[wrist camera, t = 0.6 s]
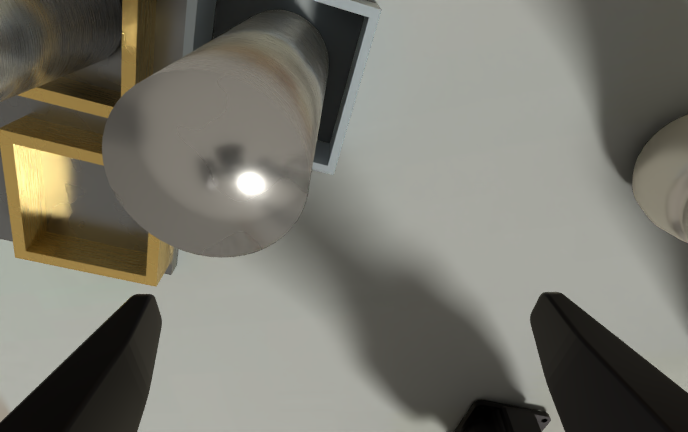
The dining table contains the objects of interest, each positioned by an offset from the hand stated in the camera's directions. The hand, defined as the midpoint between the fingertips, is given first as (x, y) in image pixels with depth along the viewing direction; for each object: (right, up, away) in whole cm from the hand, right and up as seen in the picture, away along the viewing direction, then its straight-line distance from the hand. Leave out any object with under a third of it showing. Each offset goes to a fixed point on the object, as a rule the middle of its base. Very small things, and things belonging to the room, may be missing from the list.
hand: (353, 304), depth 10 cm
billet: (-3, +10, +11) cm, 15 cm away
